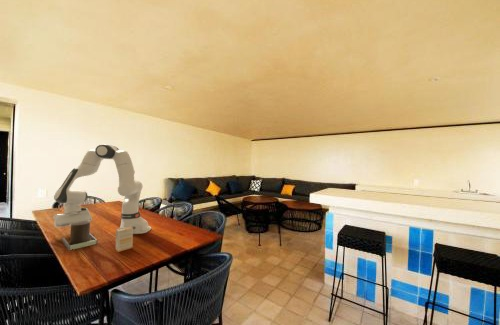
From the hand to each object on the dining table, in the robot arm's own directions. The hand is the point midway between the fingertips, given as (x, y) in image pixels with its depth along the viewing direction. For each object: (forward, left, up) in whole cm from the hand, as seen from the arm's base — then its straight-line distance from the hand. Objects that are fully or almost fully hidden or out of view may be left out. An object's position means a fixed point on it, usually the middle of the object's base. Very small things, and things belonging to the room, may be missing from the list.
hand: (75, 228), depth 142 cm
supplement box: (-44, +20, -6) cm, 49 cm away
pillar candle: (-12, +12, -6) cm, 18 cm away
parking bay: (-11, +10, -5) cm, 16 cm away
